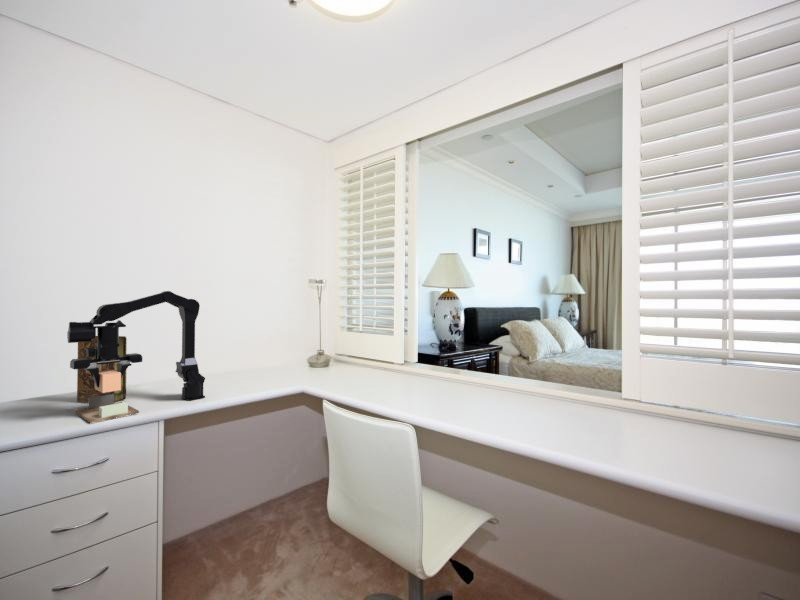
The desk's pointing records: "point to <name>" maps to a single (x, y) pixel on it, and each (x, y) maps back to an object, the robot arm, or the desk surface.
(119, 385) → the peach rectangular block
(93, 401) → the bookend
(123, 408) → the pale green rectangular block
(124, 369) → the robot arm
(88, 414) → the shelf board
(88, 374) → the book
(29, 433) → the desk surface
